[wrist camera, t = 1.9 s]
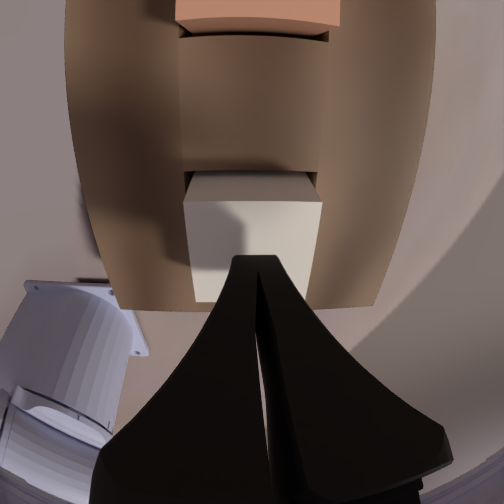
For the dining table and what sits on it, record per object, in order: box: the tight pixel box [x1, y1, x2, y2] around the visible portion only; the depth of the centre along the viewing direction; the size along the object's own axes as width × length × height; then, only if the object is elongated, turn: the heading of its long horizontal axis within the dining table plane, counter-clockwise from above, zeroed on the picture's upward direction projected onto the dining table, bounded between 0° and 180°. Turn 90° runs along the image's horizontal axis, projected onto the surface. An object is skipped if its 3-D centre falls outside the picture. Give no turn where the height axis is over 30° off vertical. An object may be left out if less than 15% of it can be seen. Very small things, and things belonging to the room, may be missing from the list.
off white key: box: [183, 170, 323, 302], centre depth 11 cm, size 4×4×3 cm
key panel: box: [64, 0, 436, 312], centre depth 10 cm, size 14×20×3 cm
